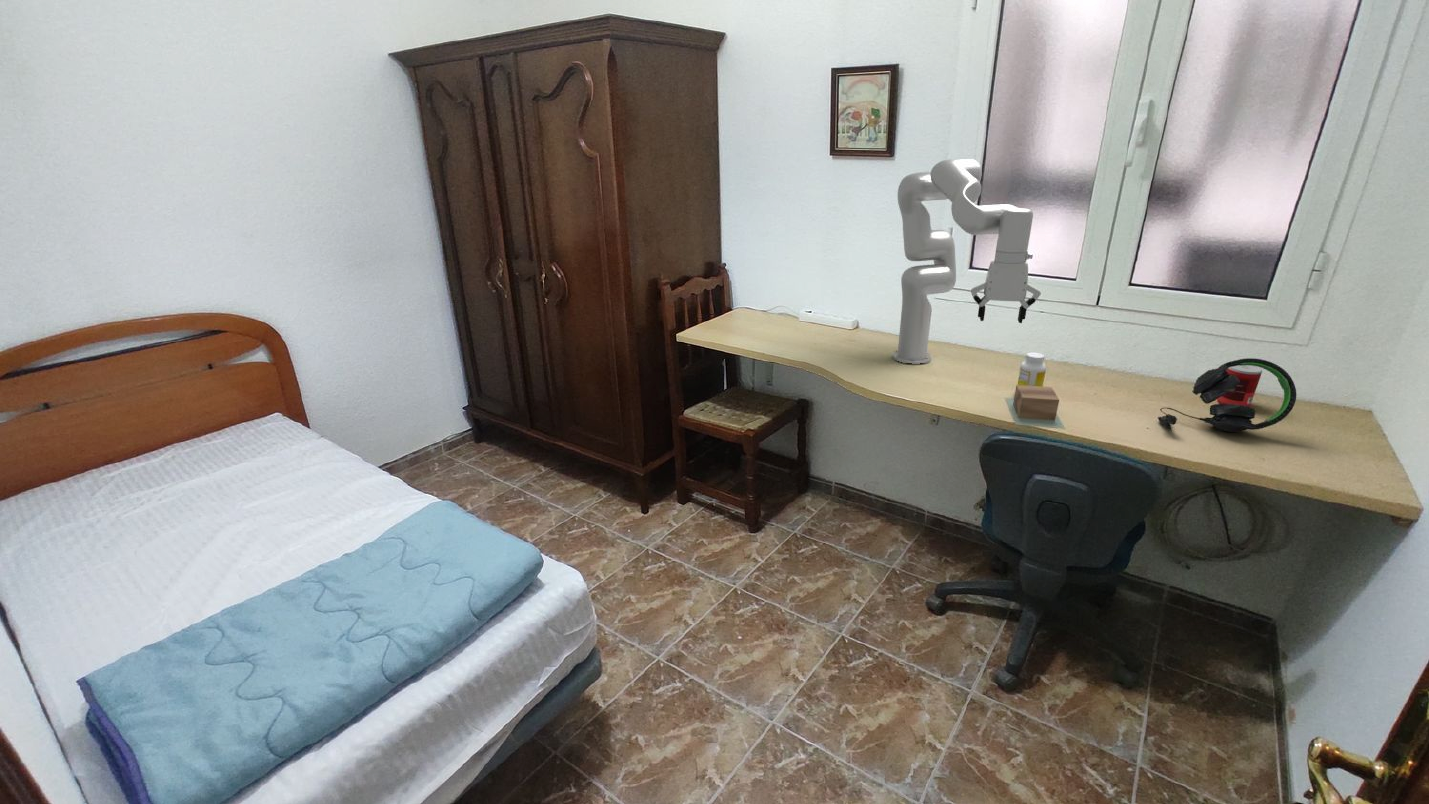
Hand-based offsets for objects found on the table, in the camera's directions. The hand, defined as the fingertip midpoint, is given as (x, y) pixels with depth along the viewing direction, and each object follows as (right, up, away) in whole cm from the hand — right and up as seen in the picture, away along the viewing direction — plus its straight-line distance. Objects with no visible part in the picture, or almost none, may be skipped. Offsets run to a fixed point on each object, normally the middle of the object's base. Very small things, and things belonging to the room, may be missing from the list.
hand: (1000, 320), depth 174 cm
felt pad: (+10, -26, +2) cm, 27 cm away
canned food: (+68, -23, +5) cm, 72 cm away
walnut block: (+10, -25, +2) cm, 27 cm away
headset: (+52, -30, -9) cm, 60 cm away
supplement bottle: (+14, -21, +14) cm, 28 cm away
